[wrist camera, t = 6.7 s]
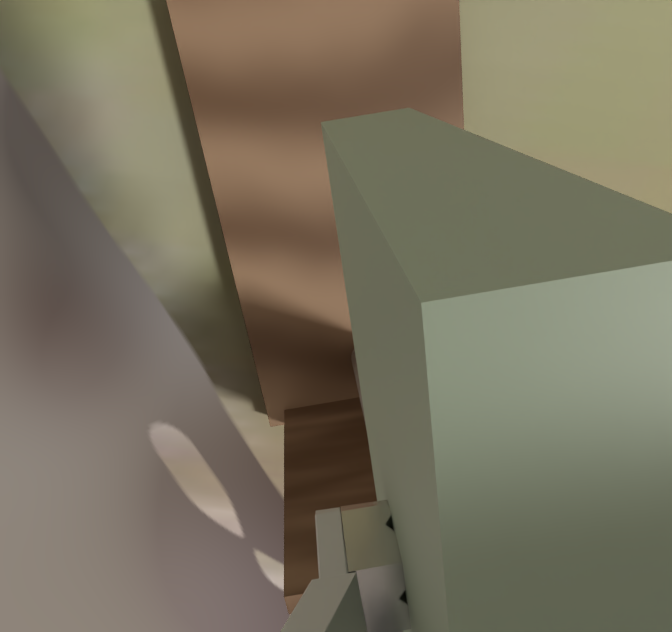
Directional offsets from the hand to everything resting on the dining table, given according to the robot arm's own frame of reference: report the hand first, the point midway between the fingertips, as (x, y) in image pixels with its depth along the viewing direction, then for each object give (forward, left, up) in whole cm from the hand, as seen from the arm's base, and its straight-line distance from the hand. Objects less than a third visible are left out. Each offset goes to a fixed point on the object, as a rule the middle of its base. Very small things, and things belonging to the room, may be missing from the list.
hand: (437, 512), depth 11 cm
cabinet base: (-1, 0, -19) cm, 19 cm away
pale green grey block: (+1, 0, -5) cm, 5 cm away
